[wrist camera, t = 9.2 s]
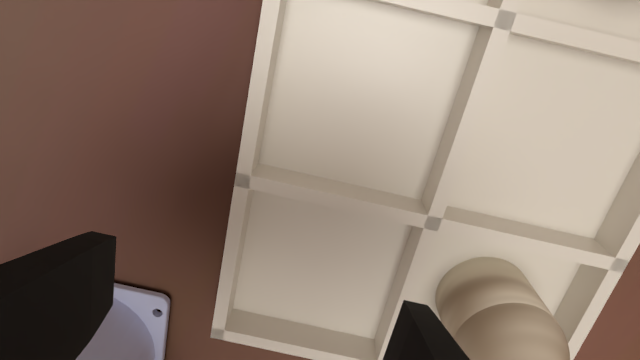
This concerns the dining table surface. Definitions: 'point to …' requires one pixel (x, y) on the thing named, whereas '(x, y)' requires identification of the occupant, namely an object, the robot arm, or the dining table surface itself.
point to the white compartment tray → (429, 164)
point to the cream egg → (498, 313)
